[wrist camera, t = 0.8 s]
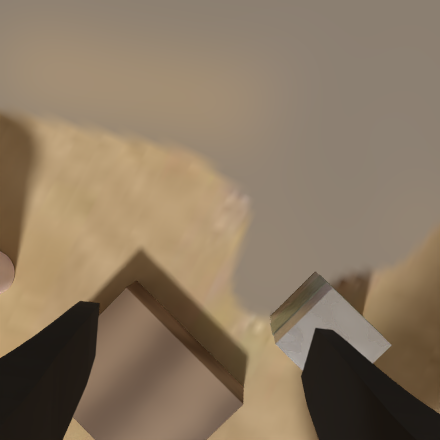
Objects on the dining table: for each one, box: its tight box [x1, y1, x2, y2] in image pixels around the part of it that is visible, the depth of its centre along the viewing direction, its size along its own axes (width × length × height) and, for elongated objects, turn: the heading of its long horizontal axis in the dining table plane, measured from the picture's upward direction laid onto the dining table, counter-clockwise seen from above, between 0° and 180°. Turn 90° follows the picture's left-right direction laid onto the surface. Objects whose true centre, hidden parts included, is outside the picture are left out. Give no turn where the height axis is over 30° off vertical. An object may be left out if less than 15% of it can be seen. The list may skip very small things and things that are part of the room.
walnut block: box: [73, 281, 244, 440], centre depth 29 cm, size 12×10×3 cm
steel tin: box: [270, 272, 392, 370], centre depth 26 cm, size 5×5×6 cm
